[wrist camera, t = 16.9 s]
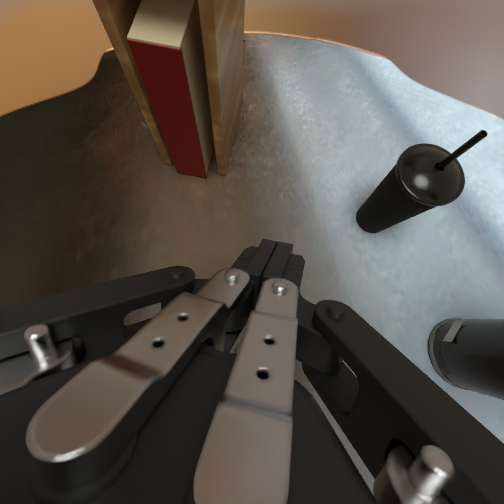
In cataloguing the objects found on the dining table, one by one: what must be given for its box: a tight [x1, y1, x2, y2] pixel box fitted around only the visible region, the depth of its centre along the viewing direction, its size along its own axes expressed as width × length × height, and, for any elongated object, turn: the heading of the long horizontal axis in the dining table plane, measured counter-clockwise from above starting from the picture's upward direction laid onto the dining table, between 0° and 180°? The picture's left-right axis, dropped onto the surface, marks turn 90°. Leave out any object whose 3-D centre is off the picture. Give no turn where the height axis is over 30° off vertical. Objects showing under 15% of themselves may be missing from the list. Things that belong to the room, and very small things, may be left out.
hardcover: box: [127, 0, 214, 178], centre depth 34 cm, size 5×15×21 cm, turn 170°
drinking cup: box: [356, 130, 487, 233], centre depth 33 cm, size 8×8×20 cm
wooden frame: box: [93, 0, 245, 176], centre depth 32 cm, size 10×15×27 cm, turn 170°
